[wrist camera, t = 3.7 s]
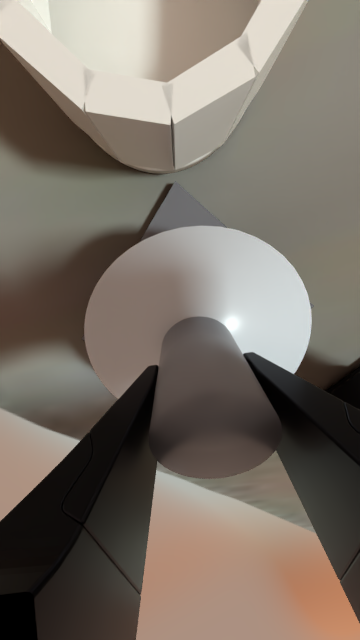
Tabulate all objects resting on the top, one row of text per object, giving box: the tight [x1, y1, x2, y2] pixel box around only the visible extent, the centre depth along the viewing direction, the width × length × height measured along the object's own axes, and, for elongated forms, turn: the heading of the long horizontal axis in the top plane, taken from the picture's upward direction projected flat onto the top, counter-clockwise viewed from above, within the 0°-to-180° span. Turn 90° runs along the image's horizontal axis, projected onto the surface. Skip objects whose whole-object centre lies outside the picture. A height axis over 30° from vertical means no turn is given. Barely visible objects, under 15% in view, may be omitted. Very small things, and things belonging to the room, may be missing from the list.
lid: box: [84, 226, 312, 479], centre depth 7 cm, size 11×11×5 cm
